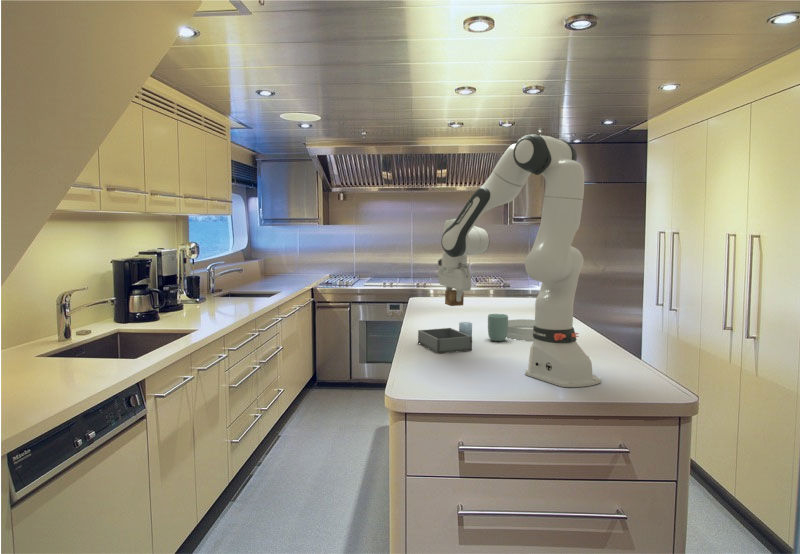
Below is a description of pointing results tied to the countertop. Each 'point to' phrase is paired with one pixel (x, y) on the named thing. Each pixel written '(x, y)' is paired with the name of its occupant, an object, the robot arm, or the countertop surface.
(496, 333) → the cup
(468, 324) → the blue cylinder
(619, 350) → the countertop surface
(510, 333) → the dish
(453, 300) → the walnut cube
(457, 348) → the tote
